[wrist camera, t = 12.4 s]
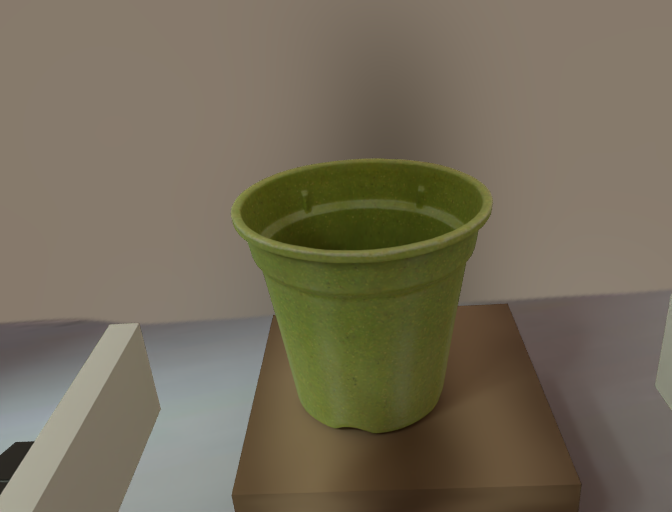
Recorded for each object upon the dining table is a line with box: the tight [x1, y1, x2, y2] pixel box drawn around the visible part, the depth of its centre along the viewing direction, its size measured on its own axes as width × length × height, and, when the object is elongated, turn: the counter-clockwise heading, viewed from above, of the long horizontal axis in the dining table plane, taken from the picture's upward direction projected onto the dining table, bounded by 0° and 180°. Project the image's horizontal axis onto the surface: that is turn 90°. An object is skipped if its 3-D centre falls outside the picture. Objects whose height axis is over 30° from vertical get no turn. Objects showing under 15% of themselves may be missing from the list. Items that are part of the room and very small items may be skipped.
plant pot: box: [231, 158, 493, 433], centre depth 25 cm, size 9×9×9 cm
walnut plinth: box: [232, 304, 582, 512], centre depth 28 cm, size 13×13×4 cm
